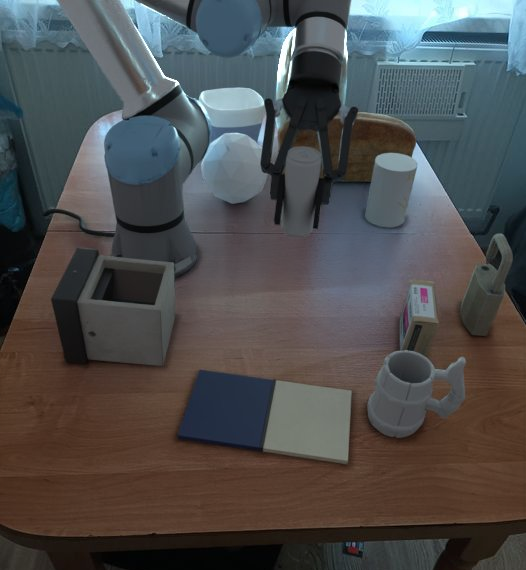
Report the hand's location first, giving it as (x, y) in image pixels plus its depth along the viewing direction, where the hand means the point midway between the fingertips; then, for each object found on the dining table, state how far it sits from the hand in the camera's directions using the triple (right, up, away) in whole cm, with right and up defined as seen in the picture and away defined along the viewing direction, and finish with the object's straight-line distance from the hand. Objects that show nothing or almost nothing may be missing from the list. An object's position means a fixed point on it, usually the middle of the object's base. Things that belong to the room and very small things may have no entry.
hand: (296, 224), depth 77 cm
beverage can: (0, 0, +5) cm, 5 cm away
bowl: (-13, +34, +59) cm, 70 cm away
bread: (+14, +23, +50) cm, 57 cm away
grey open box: (-26, -16, +7) cm, 31 cm away
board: (-4, -27, -3) cm, 27 cm away
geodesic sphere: (-11, +15, +40) cm, 44 cm away
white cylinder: (+21, +10, +36) cm, 43 cm away
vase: (+7, +38, +64) cm, 75 cm away
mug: (+15, -27, -3) cm, 32 cm away
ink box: (+19, -17, +9) cm, 26 cm away
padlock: (+30, -13, +13) cm, 35 cm away
